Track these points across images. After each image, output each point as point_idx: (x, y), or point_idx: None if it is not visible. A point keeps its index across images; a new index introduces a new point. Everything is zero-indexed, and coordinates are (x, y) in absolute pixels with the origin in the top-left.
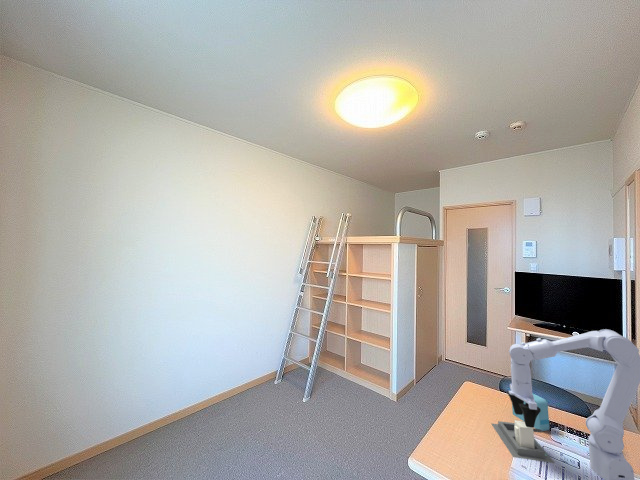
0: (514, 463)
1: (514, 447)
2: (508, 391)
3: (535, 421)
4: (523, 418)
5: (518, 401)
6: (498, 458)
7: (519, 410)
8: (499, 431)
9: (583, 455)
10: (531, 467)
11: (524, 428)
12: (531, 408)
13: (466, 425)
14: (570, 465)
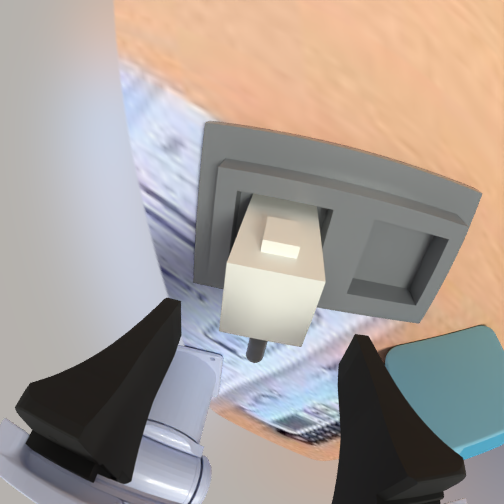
0: (187, 114)
1: (261, 168)
2: (455, 482)
3: (407, 374)
4: (453, 348)
5: (357, 448)
6: (214, 53)
7: (347, 380)
8: (421, 189)
9: (268, 381)
10: (172, 177)
11: (224, 284)
12: (4, 427)
13: (486, 58)
14: (213, 322)
